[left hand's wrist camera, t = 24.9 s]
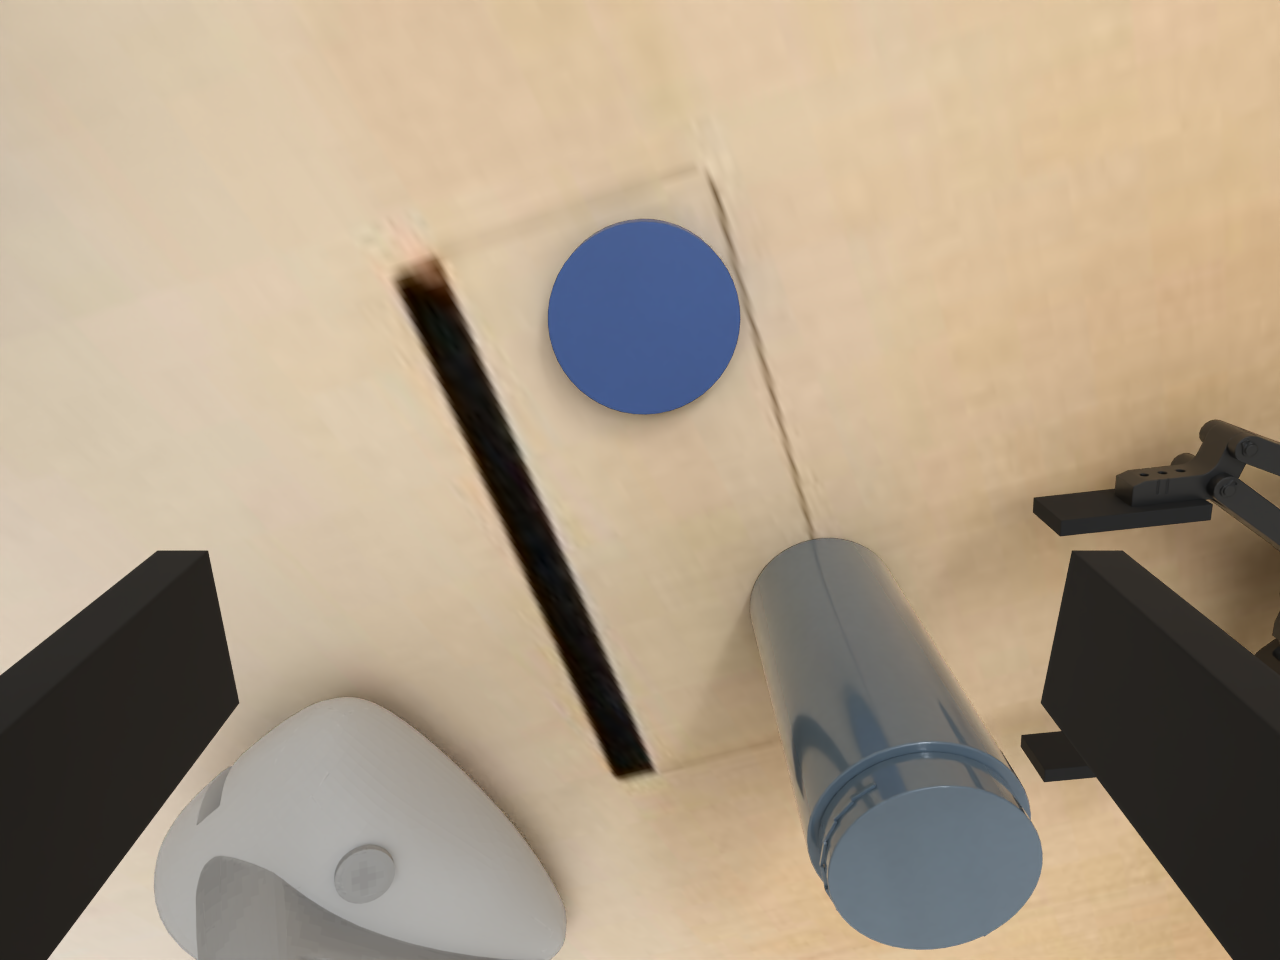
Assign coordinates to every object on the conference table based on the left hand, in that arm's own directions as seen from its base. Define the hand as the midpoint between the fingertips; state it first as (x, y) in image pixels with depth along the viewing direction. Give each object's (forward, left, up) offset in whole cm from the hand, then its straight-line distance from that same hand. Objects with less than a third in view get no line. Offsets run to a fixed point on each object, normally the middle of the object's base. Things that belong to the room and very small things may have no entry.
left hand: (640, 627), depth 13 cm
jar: (+15, -12, -29) cm, 35 cm away
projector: (-4, -35, -29) cm, 46 cm away
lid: (0, 0, -28) cm, 28 cm away
